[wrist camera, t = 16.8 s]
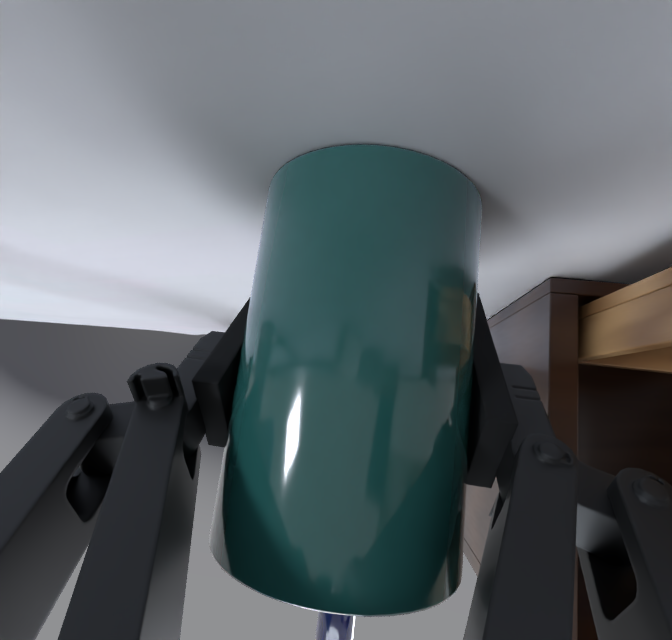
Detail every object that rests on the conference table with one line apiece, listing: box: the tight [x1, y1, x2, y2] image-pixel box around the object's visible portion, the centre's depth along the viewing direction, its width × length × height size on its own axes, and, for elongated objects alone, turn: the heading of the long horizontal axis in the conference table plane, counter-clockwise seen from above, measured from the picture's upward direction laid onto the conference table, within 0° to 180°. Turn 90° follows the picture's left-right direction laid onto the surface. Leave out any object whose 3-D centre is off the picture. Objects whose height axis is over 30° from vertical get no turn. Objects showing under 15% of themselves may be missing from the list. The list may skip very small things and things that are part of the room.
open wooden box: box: [463, 278, 672, 640], centre depth 21 cm, size 14×16×16 cm
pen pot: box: [209, 144, 482, 640], centre depth 12 cm, size 7×7×13 cm
